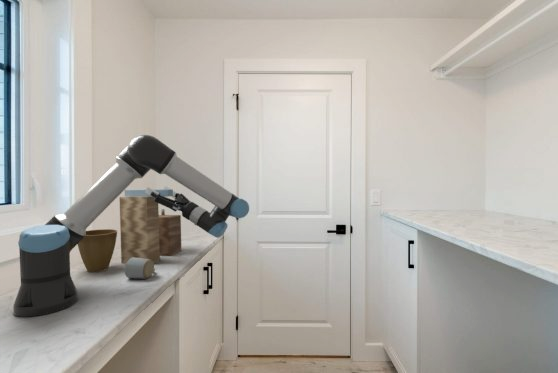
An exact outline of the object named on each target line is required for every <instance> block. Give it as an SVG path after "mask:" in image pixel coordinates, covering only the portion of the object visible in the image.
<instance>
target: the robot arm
mask: <svg viewBox="0 0 558 373" xmlns="http://www.w3.org/2000/svg"><path fill="white" fill-rule="evenodd" d="M115 162H116V163H115V164H114V165H112V166H111V168H110V169H109V170H107V171H106V173H104V175H102V176H101V177H100V178H99V179H98V180H96V182H95V183H94V184H92V186H91V187H90V188H89V189H88V190H87V191H85V193H83V195H81V197H79V198H78V199H77V200H76V201H75V202H73V204H72V205H71V206H70V207H69V208H67V210H66V211H65V212H63V213H59V214H54V216H52V218H50V219H49V220H48V222H46V223H45V224H43V225H37V226H33V227H29V228H27V229H24V230H23V231H21V232H20V234H19V240H18V247H19V270H20V272H19V273H20V286H19V288H18V292H17V294H16V297H15V300H14V303H13V315H15V316H17V317H23V318H25V317H26V318H28V317H38V316H44V315H48V314H53V313H56V312H58V311H61V310H64V309H67V308H68V307H71V306H72V305H74V304H76V303H77V302H78V300H79V292H78V290H77V288H76V285H75V283H74V281H73V278H72V276H71V260H70V259H71V258H70V256H71V255H70V253H71V251H73V249H75V247H76V246H78V243H79V242H80V241H81V240H82V239H83V238H84V237H85V236H86V231H87V229H88V227H89V226H90V225H92V223H94V221H96V219H97V218H98V217H99V216H100V215H101V214H103V212H104V211H105V210H106V209H107V208H108V207H109V206H110V205H111V204H112V203H113V202H114V201H116V199H117V198H118V197H120V194H122V193H123V192H125V191H124V190H127V188H128V187H129V186H130V185H131V184H132V183H133V182H134V181H135V180H137V179H143V178H144V177H145V176H146V175H147V174H148V173H149V172H150V170H152V171H154V172H155V173H157V174H159V175H166V176H168V177H169V178H171V179H172V180H174V181H175V182H177V183H179V184H181V185H182V186H184V187H185V188H187V189H188V190H190V191H191V192H193V193H194V194H197V195H198V196H199V197H201V198H203V199H204V200H206V201H207V202H209V203H211V204H212V205H214V207H213V208H212V210H211V211H208V210H206V209H205V208H203V207H202V206H199V205H198V204H197V203H195V202H194V201H191V200H190V199H188V197H186V196H185V194H183V193H179V192H178V193H177V192H176V191H175V190H173V196H170V197H171V198H173V199H171V198H169V197H164V196H161V195H160V193H158V192H156V191H155V190H156V189H153V188H151V187H150V186H146V189H145V190H146V191H145V193H147V194H148V195H150V196H152V197H153V198H155V202H157V203H158V205H160V206H161V205H162V206H164V207H166V208H168V209H170V210H172V211H173V212H177V211H179V212H181V216H182V218H184V219H186V220H188V221H190V222H191V223H193V224H194V225H195V226H197V227H199V228H200V229H202V230H203V231H205V232H206V233H208V234H209V235H211V236H213V237H214V238H221V237H222V236H223V235H224V233H226V230H227V229H228V223H227V220H228V217H229V216H230V217H233V218H236V219H242V218H245V217H246V216H247V215H248V213H249V212H250V205H249V203H248V201H247V200H245V199H243V198H239V197H238V196H237V195H235V194H234V193H232V192H230V191H229V190H228V189H226V188H224V187H223V186H221V185H220V184H218V183H217V182H215V181H214V180H212V179H211V178H210V177H208V176H207V175H205V174H203V173H202V172H200V171H199V170H198V169H196V168H194V167H193V166H191V165H190V164H188V163H187V162H186V161H184V160H183V159H181V158H180V157H178V155H177V152H176V151H175V150H173V149H172V148H170V147H169V146H167V145H166V144H165V143H163V142H162V141H161V140H159V139H158V138H157V137H154V136H152V135H148V134H142V135H138V136H136V137H134V138H133V139H131V141H130V143H129V144H128V145H127V146H126V147H125V148H124V149H123V150H122V151H120V152H119V153H118V155H117V156H116V157H115ZM167 189H171V188H170V187H168V186H167V185H165V186H164V187H163V189H162V190H167Z"/></svg>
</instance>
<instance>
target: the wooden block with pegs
mask: <svg viewBox="0 0 558 373" xmlns="http://www.w3.org/2000/svg"><path fill="white" fill-rule="evenodd" d="M160 211H161V213H160V214H159V249H160V257H172V256H174V255H176V254H178V253H179V254H180V252H182V222H181V221H182V219H181V218H182V217H181V216H182V214H166V213H165V211H166V210H165V208H161V209H160Z"/></svg>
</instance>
